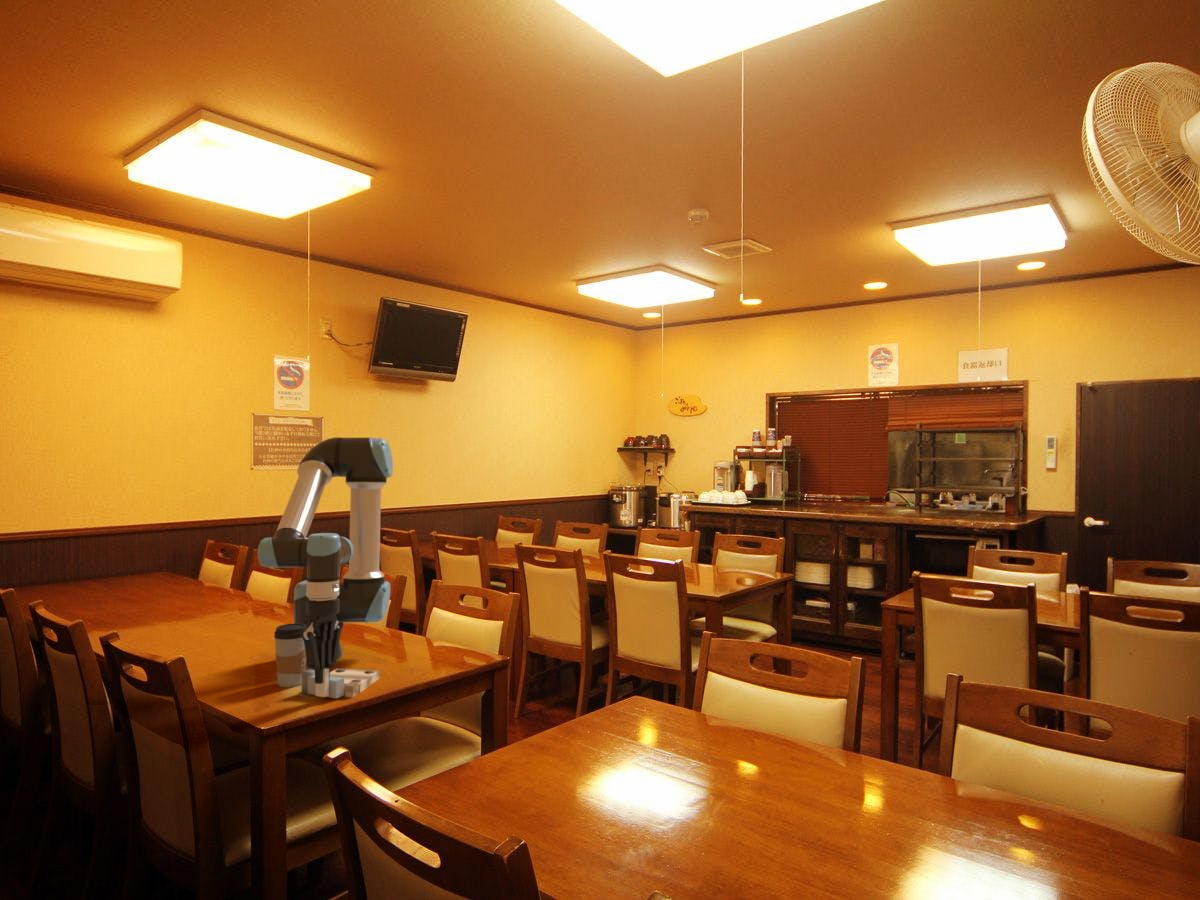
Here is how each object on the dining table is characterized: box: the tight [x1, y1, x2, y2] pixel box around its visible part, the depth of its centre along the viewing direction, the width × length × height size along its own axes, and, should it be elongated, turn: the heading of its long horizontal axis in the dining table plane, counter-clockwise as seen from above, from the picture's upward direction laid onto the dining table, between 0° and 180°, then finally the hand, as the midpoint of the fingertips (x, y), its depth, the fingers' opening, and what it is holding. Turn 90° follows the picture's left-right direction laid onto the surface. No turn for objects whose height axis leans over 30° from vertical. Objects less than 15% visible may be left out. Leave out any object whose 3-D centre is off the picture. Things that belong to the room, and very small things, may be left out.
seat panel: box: [298, 668, 381, 698], centre depth 192 cm, size 16×15×3 cm
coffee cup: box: [273, 623, 307, 688], centre depth 195 cm, size 8×8×15 cm
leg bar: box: [301, 669, 345, 699], centre depth 186 cm, size 12×3×5 cm, turn 67°
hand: (322, 695), depth 182 cm, fingers closed
